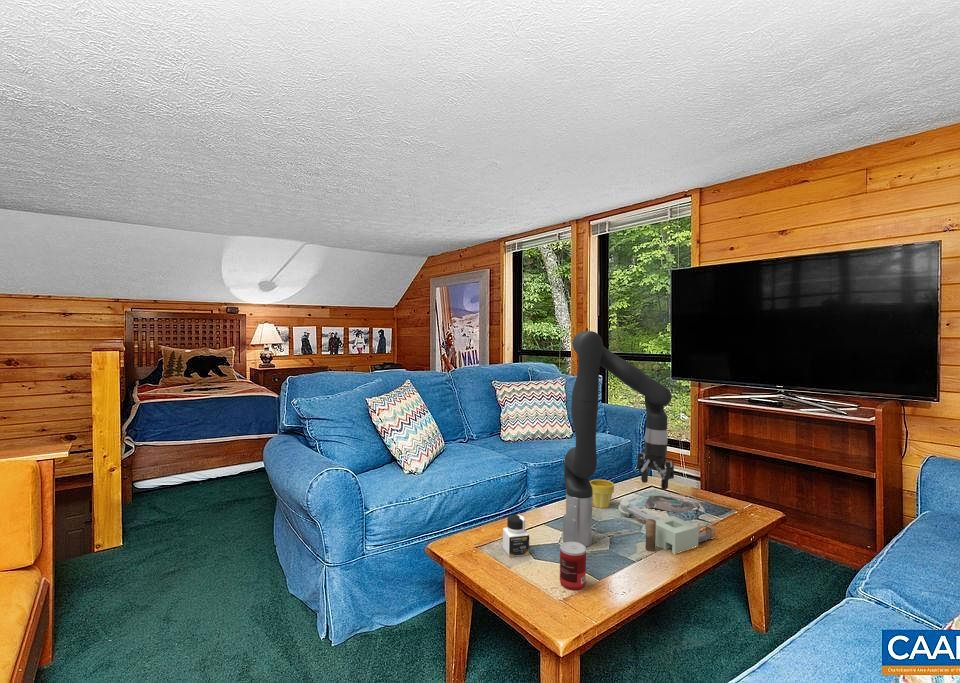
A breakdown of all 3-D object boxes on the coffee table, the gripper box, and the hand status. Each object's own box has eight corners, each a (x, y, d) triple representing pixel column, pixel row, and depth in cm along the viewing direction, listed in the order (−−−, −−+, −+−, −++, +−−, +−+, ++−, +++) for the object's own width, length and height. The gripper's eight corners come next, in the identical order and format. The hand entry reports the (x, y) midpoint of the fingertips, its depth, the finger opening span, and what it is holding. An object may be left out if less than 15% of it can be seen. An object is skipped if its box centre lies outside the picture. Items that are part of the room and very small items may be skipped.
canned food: (581, 576, 149) (582, 541, 149) (588, 590, 141) (589, 553, 141) (557, 576, 149) (557, 541, 149) (562, 590, 141) (563, 553, 141)
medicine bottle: (509, 557, 161) (509, 521, 160) (502, 547, 168) (503, 513, 167) (529, 555, 163) (529, 519, 162) (521, 545, 170) (522, 511, 169)
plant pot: (600, 499, 216) (600, 477, 216) (618, 506, 207) (619, 484, 207) (583, 504, 210) (584, 481, 210) (602, 511, 202) (602, 488, 201)
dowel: (650, 552, 166) (651, 523, 166) (643, 548, 169) (644, 520, 168) (657, 550, 168) (657, 521, 167) (649, 546, 170) (650, 518, 170)
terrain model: (643, 509, 207) (643, 502, 206) (649, 499, 220) (650, 491, 220) (695, 519, 197) (695, 511, 196) (698, 507, 210) (699, 500, 210)
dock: (674, 554, 165) (675, 533, 164) (649, 541, 174) (649, 521, 174) (698, 546, 170) (698, 526, 170) (672, 534, 180) (672, 515, 180)
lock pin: (691, 545, 171) (691, 534, 170) (685, 543, 173) (685, 532, 172) (714, 538, 177) (715, 527, 177) (709, 535, 179) (709, 525, 179)
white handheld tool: (669, 530, 178) (614, 501, 197) (671, 543, 180) (616, 513, 200) (677, 521, 180) (622, 493, 200) (679, 535, 183) (624, 506, 202)
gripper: (633, 437, 178) (631, 481, 178) (665, 446, 165) (663, 493, 166) (647, 435, 181) (645, 478, 182) (680, 444, 169) (678, 490, 169)
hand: (654, 485), depth 174 cm, fingers open, 8 cm apart
